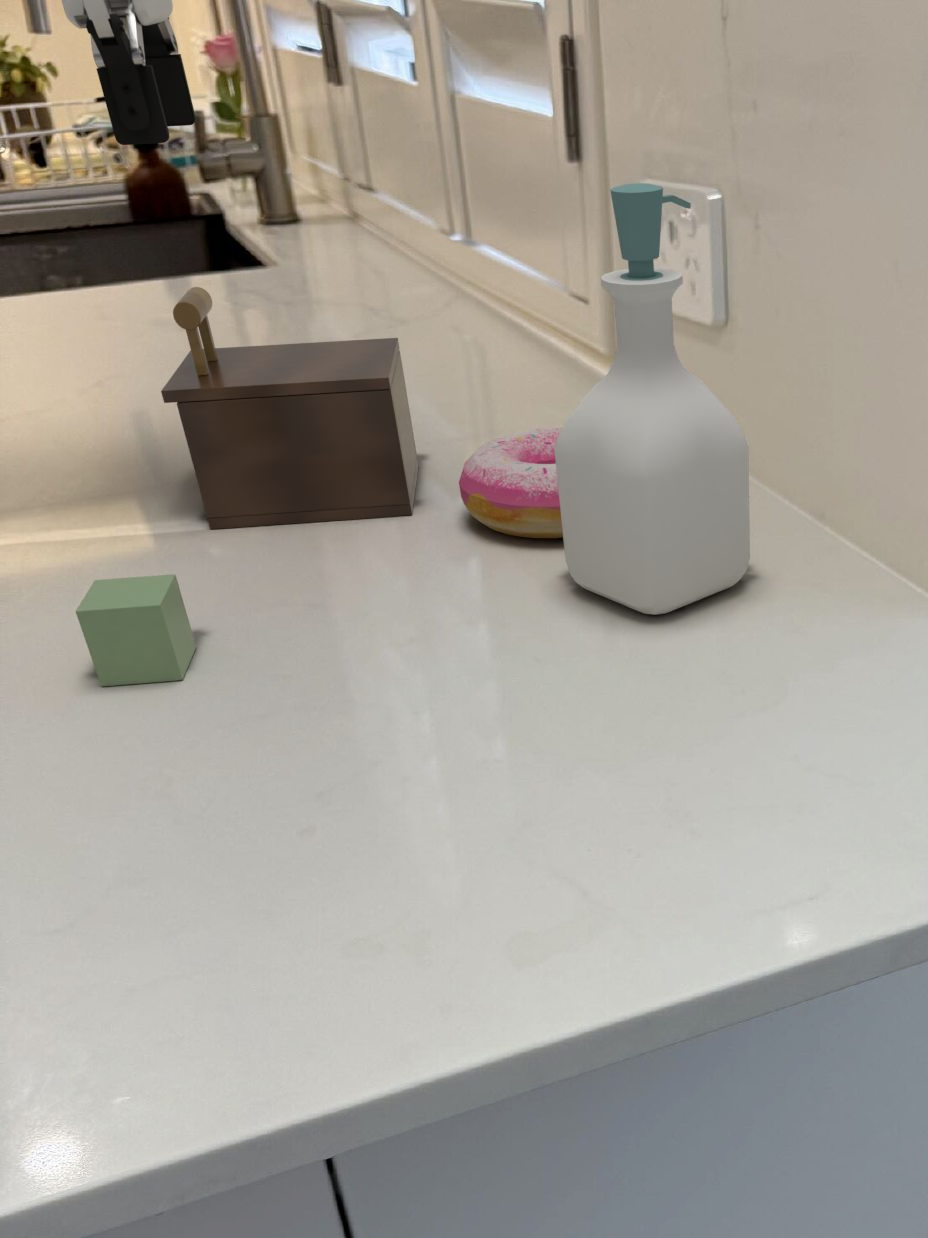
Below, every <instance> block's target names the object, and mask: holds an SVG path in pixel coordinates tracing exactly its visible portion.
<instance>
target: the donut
mask: <svg viewBox="0 0 928 1238" xmlns="http://www.w3.org/2000/svg"><path fill="white" fill-rule="evenodd" d="M562 427H563V426H557V427H555V426H554V427H544V428H536V429H530V430H524V431H520V432H515V433H511V434H508V435H504V436H500V437H498V438H496V439H493V440H491V441H488V442H486V443H485V444H483V445H481V446H480V447H478V449H477V450H476V451H475V452H474V453H472V455H471V456H470V457H469V458H467V460H466V461H465V462H464V465H463V468H462V470H461V473H460V477H459V479H458V480H459V481H458V485H459V492H460V498H461V500H462V503H463V505H464V506H465V508H466V509H467V511H468V512H469V514H470V516H472V518H474V519H476V520H477V521H478V522H480V523H481V524H483V525H484V526H486V527H487V528H489V529H491V530H493V531H495V532H499V533H502V534H505V535H509V536H516V537H521V538H531V539H532V538H533V539H560V538H562V539H563V530H562V520H561V510H560V500H559V490H558V480H557V470H556V460H555V448H556V442H557V438H558V436H559V434H560V431H561V429H562Z"/></svg>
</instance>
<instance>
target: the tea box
mask: <svg viewBox="0 0 928 1238" xmlns="http://www.w3.org/2000/svg"><path fill="white" fill-rule="evenodd" d="M405 380H406V379H405V374H404V367H403V360H402V356H401V351H400V349H399V353H398V357H397V362H396V366H395V371H394V375H393V380H392V384H391V389H384V390H368V391H351V392H335V393H319V394H303V395H286V396H270V397H254V398H237V399H221V400H205V401H189V402H176V406H177V411H178V415H179V418H180V421H181V425H182V429H183V433H184V436H185V440H186V444H187V449H188V452H189V455H190V459H191V463H192V467H193V471H194V474H195V478H196V482H197V485H198V489H199V492H200V496H201V501H202V504H203V508H204V511H205V516H206V518H207V523H208V527H209V529H210V530H219V529H235V528H247V527H249V528H251V527H261V526H263V527H264V526H276V525H277V526H278V525H290V524H304V523H318V522H319V523H320V522H334V521H335V522H336V521H347V520H362V519H363V520H364V519H374V518H375V519H376V518H388V517H389V518H390V517H392V518H393V517H402V516H406V517H407V516H412V515H413V511H414V502H415V496H416V489H417V482H418V474H419V466H420V465H419V459H418V458H419V457H418V454H417V447H416V441H415V435H414V428H413V423H412V415H411V411H410V405H409V399H408V398H409V397H408V391H407V386H406V381H405Z"/></svg>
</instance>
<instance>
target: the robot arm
mask: <svg viewBox="0 0 928 1238" xmlns="http://www.w3.org/2000/svg"><path fill="white" fill-rule="evenodd" d="M61 4H62V8H63V12H64V14H65V16H66V18H67V20H68V21H69V22H70V23H71V25H73V26H75V27H76V28H77V29H80V30H81V29H86V31H87V33H88V35H90V44H91V52H92V57H93V60H94V63H95V66H96V73H97V76H98V80H99V84H100V86H101V90H102V95H103V98H104V101H105V106H106V110H107V113H108V116H109V120H110V124H111V127H112V132H113V136H114V139H115V141H116V142H117V143H118V144H119V145H121V146H132V145H134V146H135V145H151V144H153V145H154V144H164V143H168V141H169V139H170V131H169V127H186V126H193V125H194V124H196V122H197V118H196V117H197V116H196V113H195V110H194V104H193V101H192V96H191V92H190V88H189V84H188V78H187V75H186V70H185V67H184V62H183V57H182V54H181V53H179V46H178V42H177V41H178V40H177V38H176V34H175V32H174V30H173V26H172V24H171V22H170V16H171V14H172V13H173V10H174V9H173V8H174V5H173V0H61Z"/></svg>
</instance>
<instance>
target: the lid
mask: <svg viewBox="0 0 928 1238" xmlns="http://www.w3.org/2000/svg"><path fill="white" fill-rule="evenodd" d="M212 308H213V299H212V296H211V295H210V293H209V292H208V291H207V290H206V289H204V288H203V287H200V286H193V287H190V288H189V289H188V290H187V291H186V293H185V294H184V295H183V296H182V297H181V298H180V300H179V301H178V302H177V303H176V304H175V305H174V307H173V310H172V316H173V319H174V321H175V323H176V324H177V326H179V327H180V328H181V329H183V330H185V333H186V337H187V341H188V344H189V348H190V351H189V352H188V353H187V355H186V356H185V357H184V359H183V360H182V362H181V363H180V365H178V367H177V369H175V371H174V372H173V374H172V375H171V377H170V378H169V379H168V381H167V382H166V383H165V385H164V386H163V388H161V390H160V393H161V397H162V400H163V403H164V404H170V403H177V402H189V401H205V400H221V399H237V398H254V397H270V396H286V395H303V394H319V393H335V392H351V391H368V390H384V389H391V384H392V380H393V375H394V371H395V366H396V362H397V357H398V353H399V350H400V344H399V343H400V342H399V339H398V337H387V338H371V339H369V338H368V339H353V340H352V339H350V340H334V341H333V340H332V341H321V342H320V341H318V342H301V343H299V342H298V343H284V344H283V343H281V344H266V345H265V344H264V345H249V346H248V345H247V346H232V347H231V346H230V347H216V345H215V342H214V341H215V340H214V337H213V334H212V328H211V325H210V320H209V317H208V314H209V313H210V312H211V310H212Z"/></svg>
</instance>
